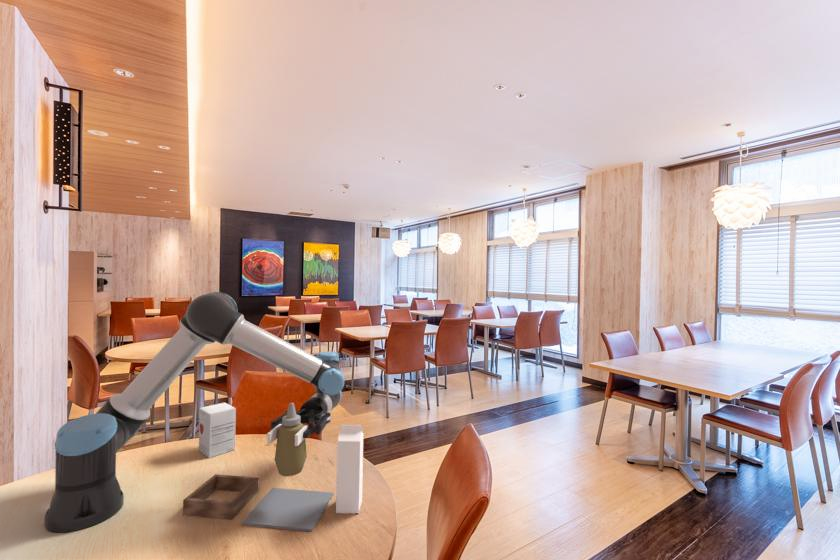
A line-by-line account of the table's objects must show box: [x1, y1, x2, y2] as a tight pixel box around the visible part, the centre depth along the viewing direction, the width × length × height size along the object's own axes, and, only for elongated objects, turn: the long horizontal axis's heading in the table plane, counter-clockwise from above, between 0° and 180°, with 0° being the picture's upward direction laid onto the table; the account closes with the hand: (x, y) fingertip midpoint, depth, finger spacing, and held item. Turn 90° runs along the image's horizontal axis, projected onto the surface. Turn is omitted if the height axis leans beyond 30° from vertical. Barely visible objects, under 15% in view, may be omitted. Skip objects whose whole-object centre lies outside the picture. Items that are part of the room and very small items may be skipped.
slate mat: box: [240, 487, 335, 532], centre depth 102 cm, size 18×16×1 cm
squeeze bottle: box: [274, 402, 308, 477], centre depth 102 cm, size 8×8×18 cm
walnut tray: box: [182, 473, 259, 521], centre depth 104 cm, size 13×13×4 cm
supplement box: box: [198, 401, 237, 459], centre depth 135 cm, size 9×9×15 cm
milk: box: [335, 423, 364, 515], centre depth 103 cm, size 6×6×22 cm
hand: (282, 439), depth 97 cm, fingers closed on squeeze bottle, 6 cm apart
